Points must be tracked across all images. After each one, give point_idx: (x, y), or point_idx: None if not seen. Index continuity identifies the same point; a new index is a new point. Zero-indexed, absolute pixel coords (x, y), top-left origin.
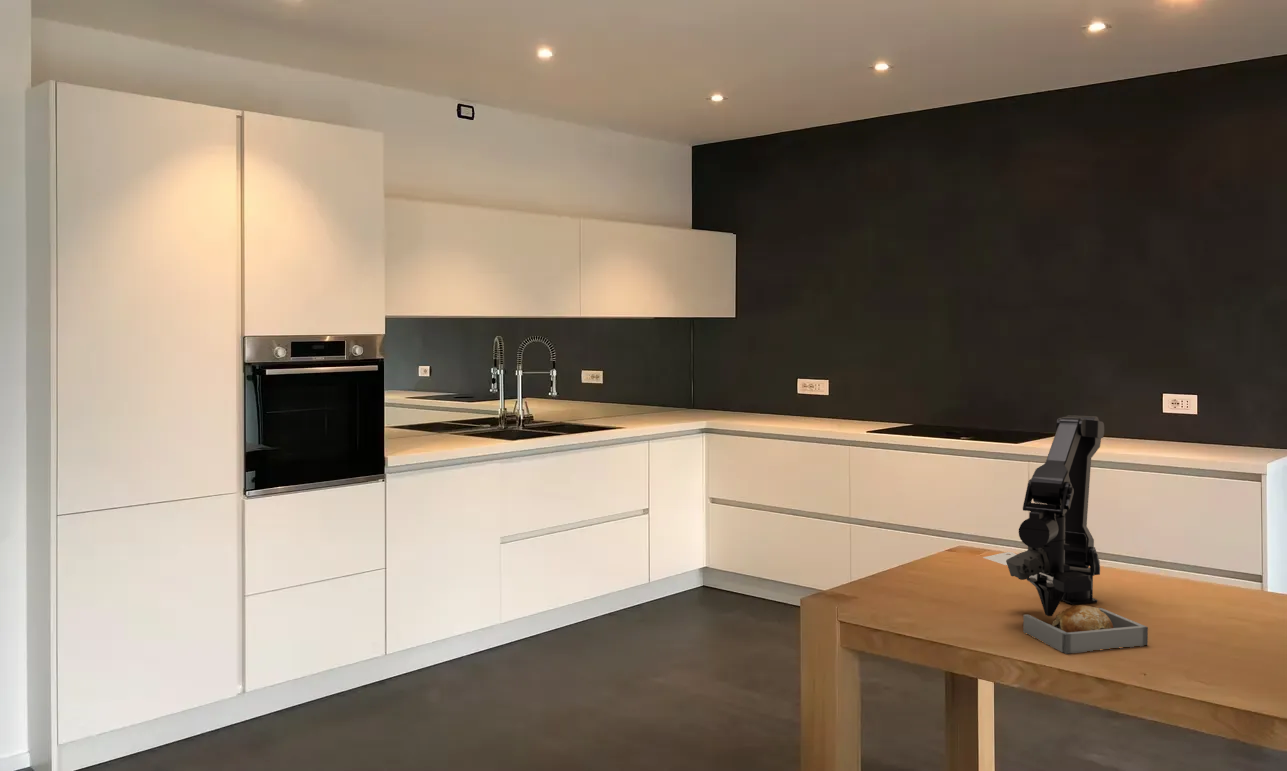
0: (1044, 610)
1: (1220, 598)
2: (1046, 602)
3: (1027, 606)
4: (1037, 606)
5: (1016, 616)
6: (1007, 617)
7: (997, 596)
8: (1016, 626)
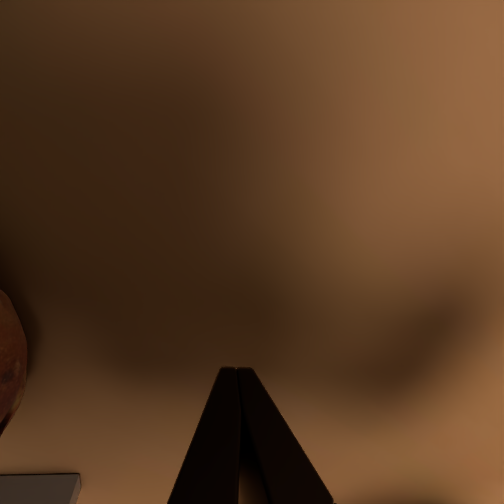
0: (261, 393)
1: None
2: (208, 485)
3: (494, 401)
4: (457, 430)
5: (444, 248)
6: (481, 171)
7: None
8: (258, 25)
